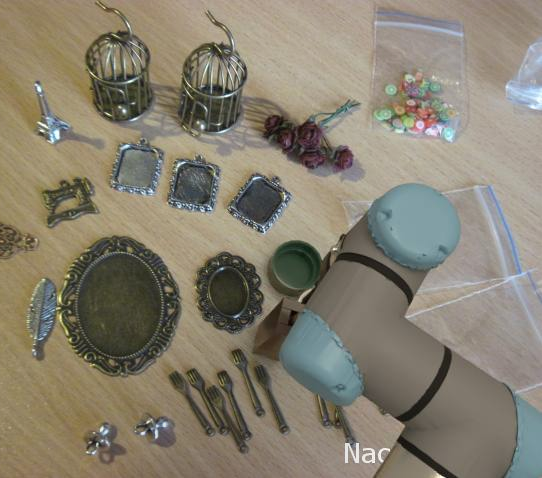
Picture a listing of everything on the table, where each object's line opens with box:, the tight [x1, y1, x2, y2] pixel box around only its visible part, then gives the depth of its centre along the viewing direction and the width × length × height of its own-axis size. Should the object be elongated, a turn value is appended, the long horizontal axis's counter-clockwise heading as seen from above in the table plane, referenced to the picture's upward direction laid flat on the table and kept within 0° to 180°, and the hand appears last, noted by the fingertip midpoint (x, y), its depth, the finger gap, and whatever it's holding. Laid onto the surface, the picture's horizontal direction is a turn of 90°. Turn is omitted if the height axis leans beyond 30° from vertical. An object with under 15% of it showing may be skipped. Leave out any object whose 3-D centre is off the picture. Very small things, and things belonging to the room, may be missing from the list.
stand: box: [251, 296, 305, 362], centre depth 101 cm, size 6×6×26 cm
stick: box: [288, 312, 300, 327], centre depth 82 cm, size 2×2×22 cm
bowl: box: [267, 239, 323, 297], centre depth 116 cm, size 11×11×6 cm
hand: (308, 310), depth 82 cm, fingers closed on stick, 1 cm apart
